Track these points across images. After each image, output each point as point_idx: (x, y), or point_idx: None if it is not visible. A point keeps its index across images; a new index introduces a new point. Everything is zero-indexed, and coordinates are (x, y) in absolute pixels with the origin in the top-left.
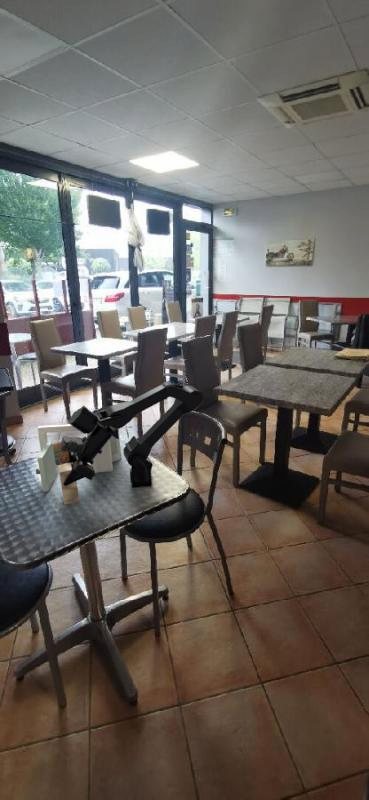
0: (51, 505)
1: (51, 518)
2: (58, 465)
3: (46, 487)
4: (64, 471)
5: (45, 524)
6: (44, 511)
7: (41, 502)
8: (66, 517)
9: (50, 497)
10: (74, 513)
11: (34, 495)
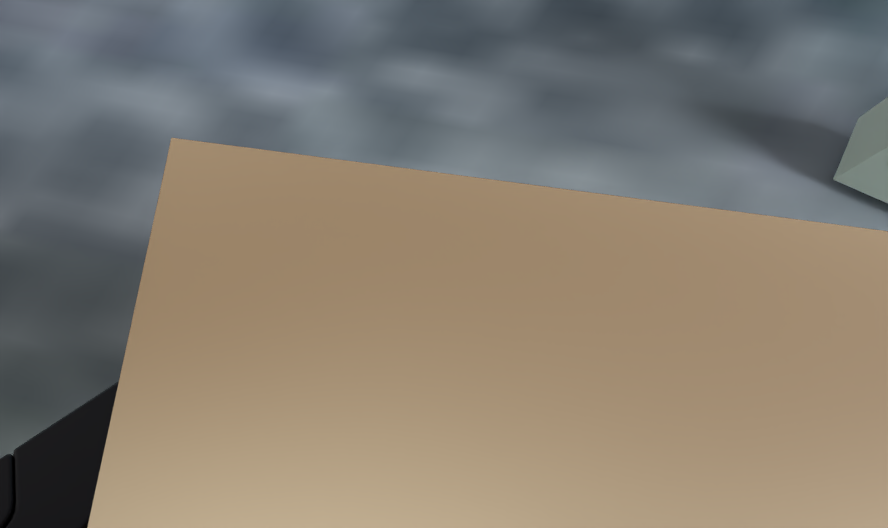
0: (443, 159)
1: (135, 99)
2: (867, 247)
3: (875, 146)
4: (128, 351)
5: (54, 14)
6: (349, 54)
7: (596, 59)
8: (33, 269)
9: (666, 189)
10: (56, 388)
11: (837, 10)
